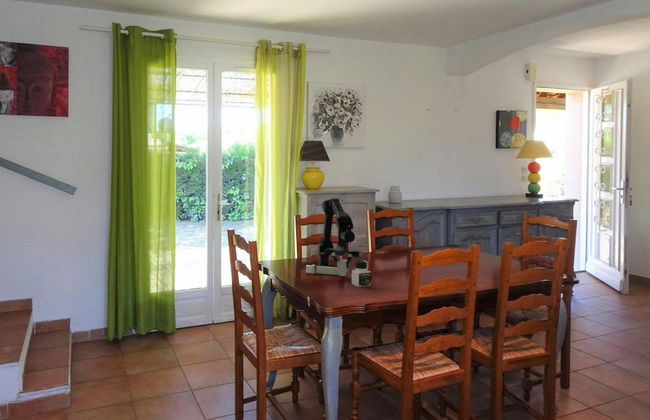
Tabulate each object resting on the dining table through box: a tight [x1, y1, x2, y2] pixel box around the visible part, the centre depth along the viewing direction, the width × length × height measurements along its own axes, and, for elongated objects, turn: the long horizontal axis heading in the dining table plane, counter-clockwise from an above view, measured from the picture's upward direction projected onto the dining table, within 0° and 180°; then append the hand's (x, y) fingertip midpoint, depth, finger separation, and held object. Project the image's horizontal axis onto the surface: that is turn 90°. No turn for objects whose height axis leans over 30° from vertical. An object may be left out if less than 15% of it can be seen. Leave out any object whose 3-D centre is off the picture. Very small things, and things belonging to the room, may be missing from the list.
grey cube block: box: [336, 258, 349, 273], centre depth 281 cm, size 6×5×6 cm
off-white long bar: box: [305, 264, 347, 277], centre depth 289 cm, size 2×22×4 cm, turn 72°
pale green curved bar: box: [316, 265, 338, 276], centre depth 288 cm, size 12×2×4 cm, turn 72°
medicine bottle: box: [351, 260, 372, 288], centre depth 265 cm, size 7×7×12 cm
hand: (342, 268), depth 281 cm, fingers closed on grey cube block, 5 cm apart
